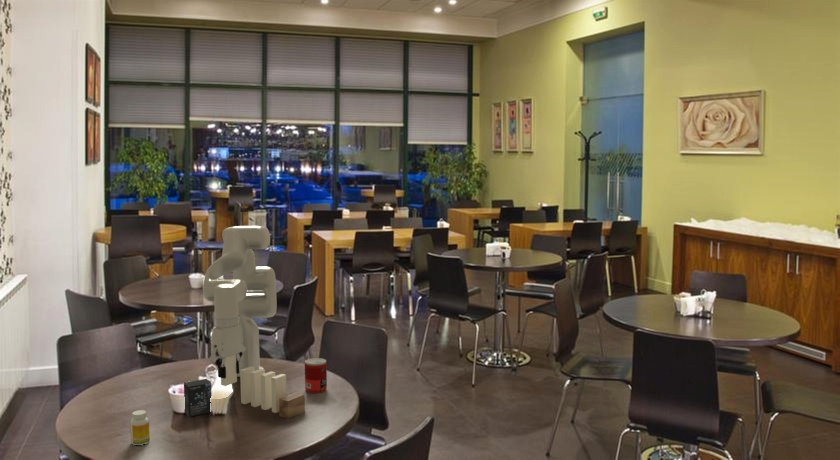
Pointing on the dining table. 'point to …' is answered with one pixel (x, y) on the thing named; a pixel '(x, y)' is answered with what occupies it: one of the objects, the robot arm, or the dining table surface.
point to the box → (197, 397)
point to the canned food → (315, 375)
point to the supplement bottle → (139, 428)
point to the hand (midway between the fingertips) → (228, 374)
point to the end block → (291, 405)
